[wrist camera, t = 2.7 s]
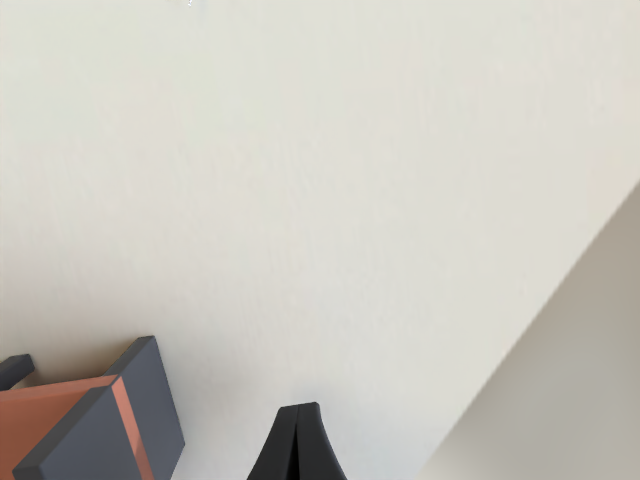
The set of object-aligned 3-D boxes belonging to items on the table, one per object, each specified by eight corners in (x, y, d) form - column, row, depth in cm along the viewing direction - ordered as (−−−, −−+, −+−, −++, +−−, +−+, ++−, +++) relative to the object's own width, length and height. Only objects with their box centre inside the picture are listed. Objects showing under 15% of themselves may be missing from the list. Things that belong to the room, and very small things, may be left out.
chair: (185, 444, 15) (107, 628, 9) (54, 464, 15) (-113, 663, 9) (154, 334, 13) (39, 466, 8) (10, 355, 13) (-221, 505, 7)
